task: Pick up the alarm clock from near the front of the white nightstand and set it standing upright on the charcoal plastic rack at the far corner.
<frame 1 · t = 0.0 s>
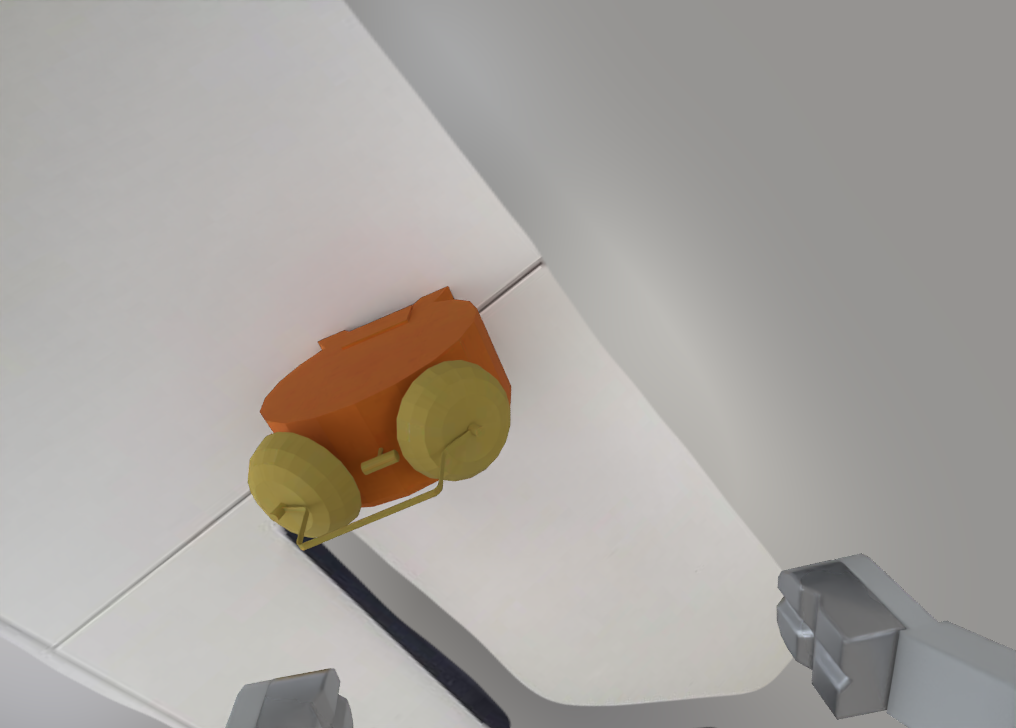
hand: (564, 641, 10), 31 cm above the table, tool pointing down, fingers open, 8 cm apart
alarm clock: (400, 347, 40), on the table
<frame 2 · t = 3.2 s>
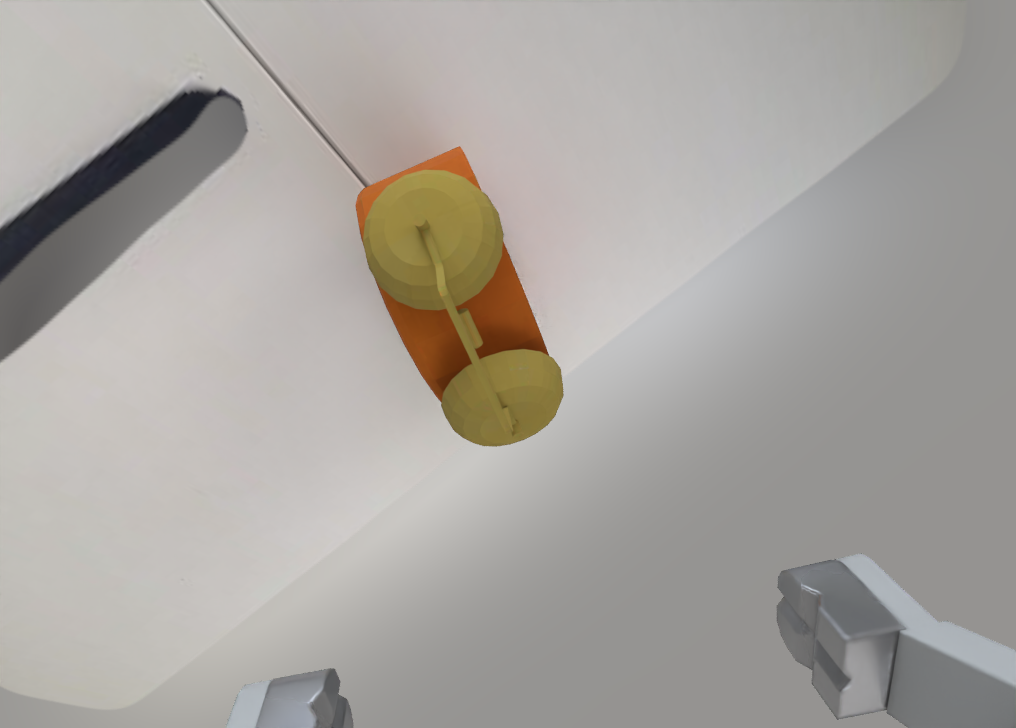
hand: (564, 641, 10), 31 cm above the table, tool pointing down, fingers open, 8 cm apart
alarm clock: (456, 258, 38), on the table
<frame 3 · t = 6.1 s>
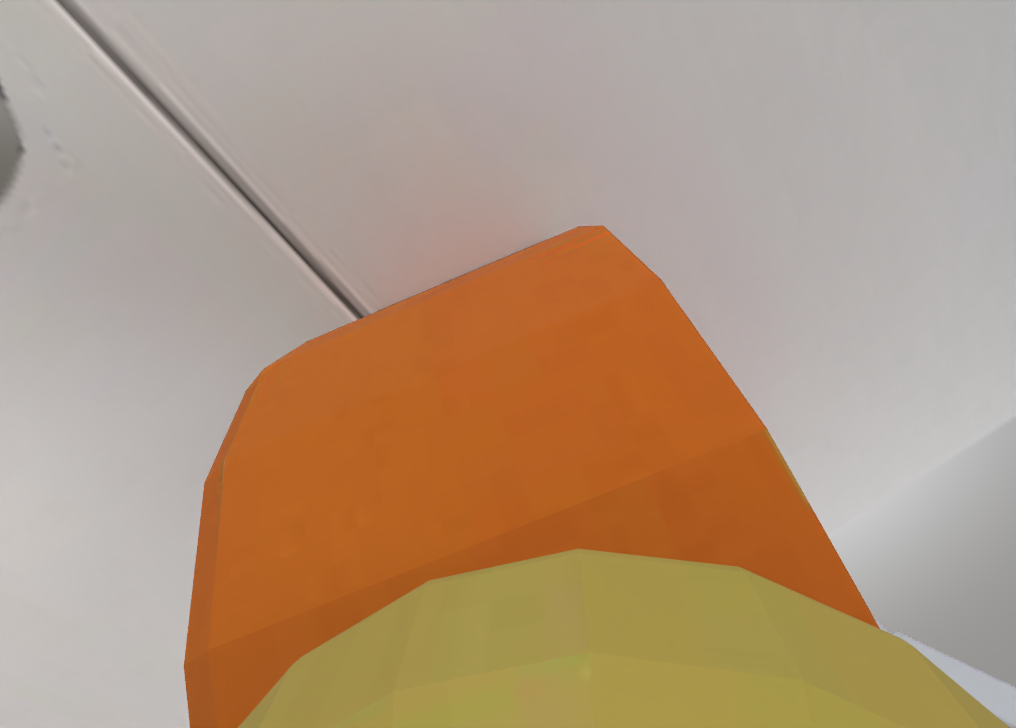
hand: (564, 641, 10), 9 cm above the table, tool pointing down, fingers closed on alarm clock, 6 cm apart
alarm clock: (518, 416, 18), on the table, touching arm, gripper
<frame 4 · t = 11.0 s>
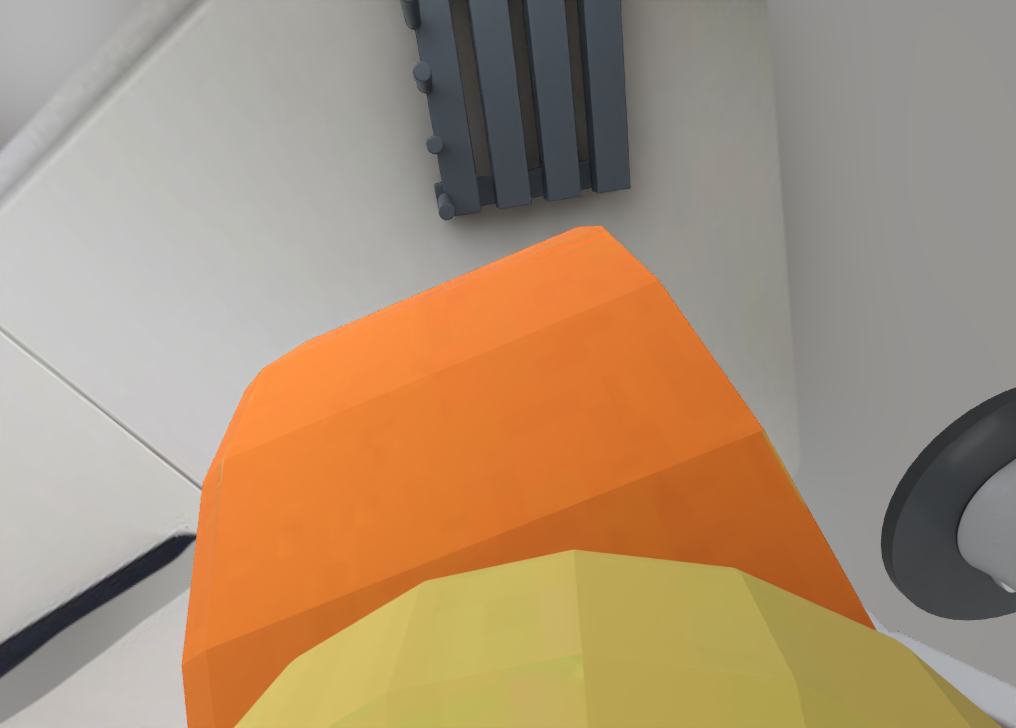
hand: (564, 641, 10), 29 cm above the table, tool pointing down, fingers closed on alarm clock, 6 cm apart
rack: (517, 76, 33), on the table
alarm clock: (517, 416, 18), point 20 cm above the table, touching arm, gripper
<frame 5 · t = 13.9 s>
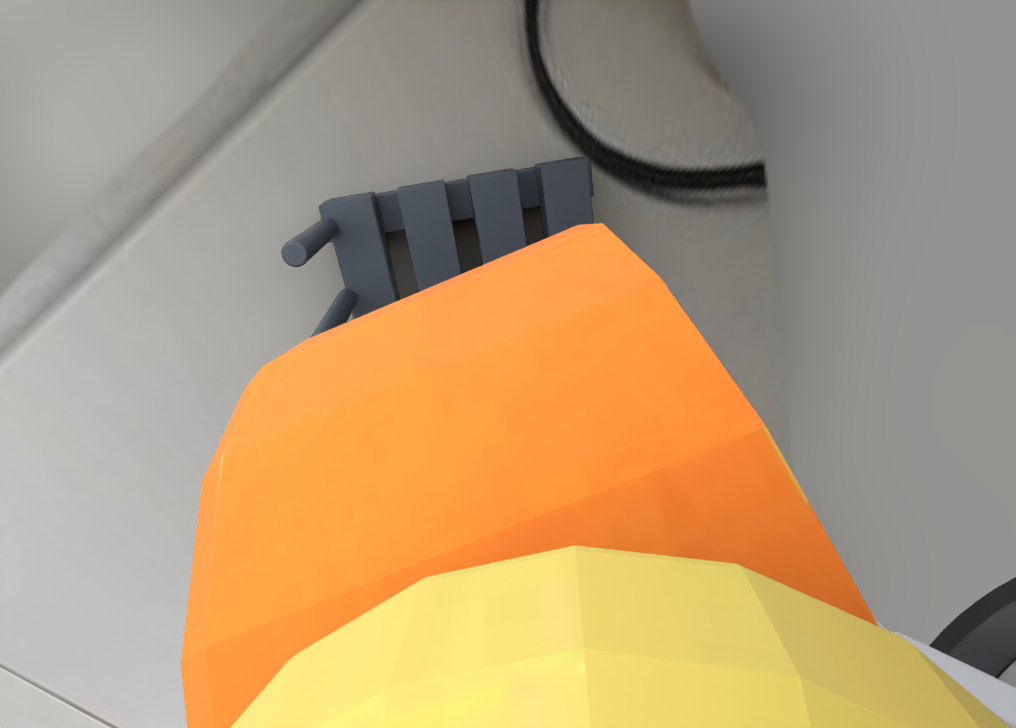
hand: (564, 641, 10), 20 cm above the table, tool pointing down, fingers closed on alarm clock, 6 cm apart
rack: (480, 319, 28), on the table
alarm clock: (517, 415, 18), point 11 cm above the table, touching arm, gripper
when the fingers open (12 cm above the table, at t = 16.3 s): alarm clock stays where it is, resting on rack.
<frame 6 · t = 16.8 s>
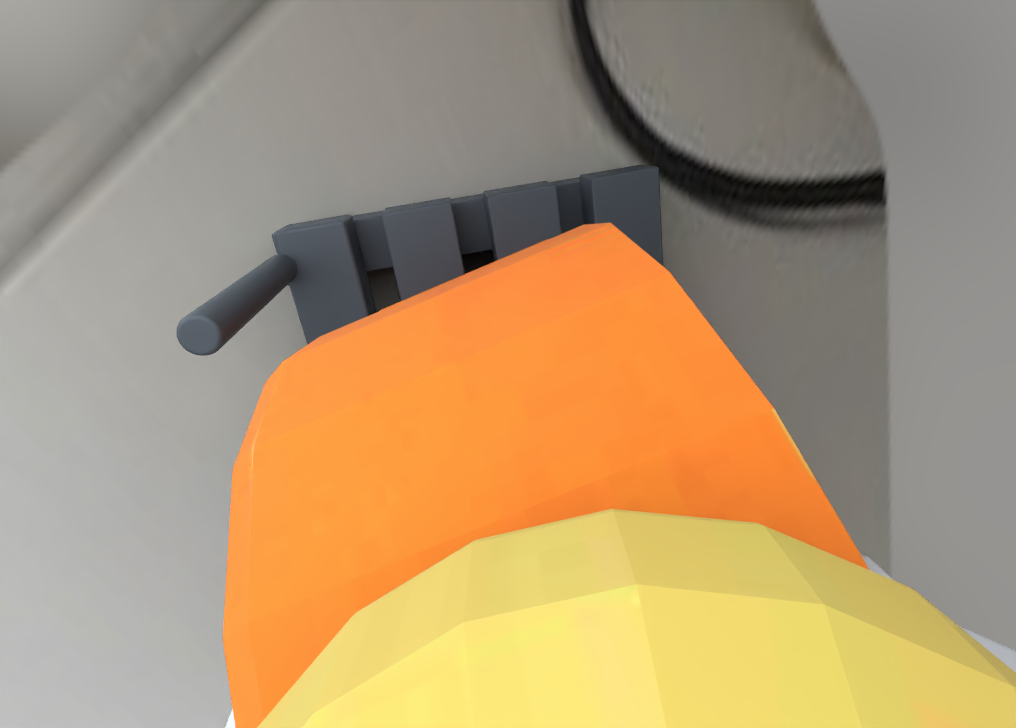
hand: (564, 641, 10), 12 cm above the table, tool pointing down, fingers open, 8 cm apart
rack: (497, 381, 21), on the table
alarm clock: (518, 413, 18), point 3 cm above the table, touching rack
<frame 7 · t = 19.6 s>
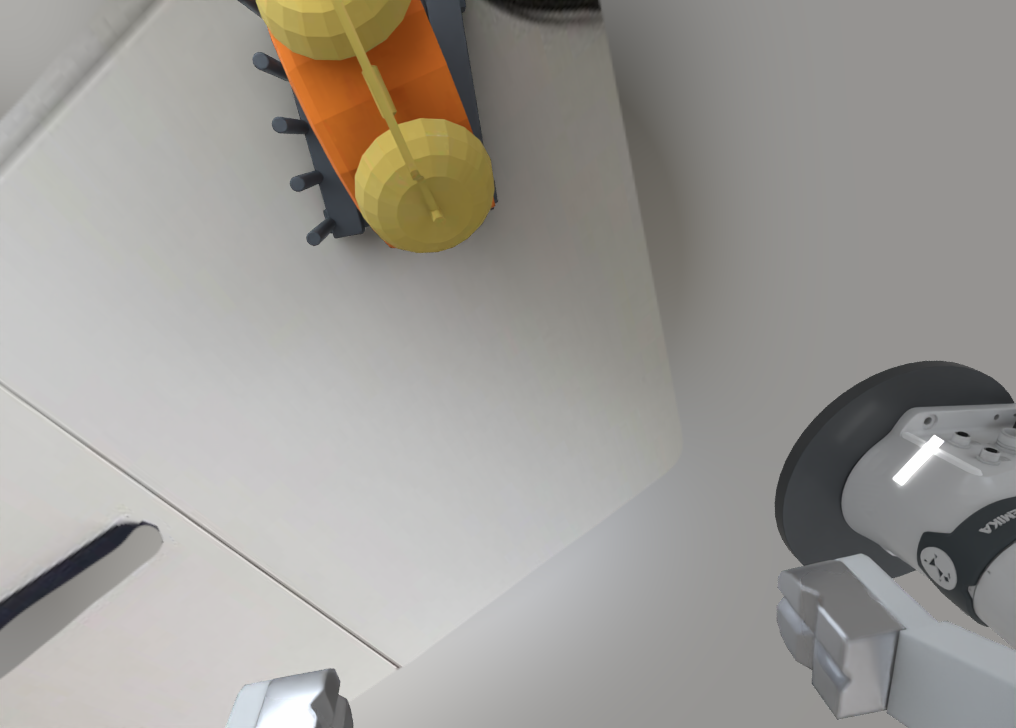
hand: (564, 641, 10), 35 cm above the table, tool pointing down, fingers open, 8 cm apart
rack: (392, 114, 38), on the table
alarm clock: (396, 111, 35), point 3 cm above the table, touching rack
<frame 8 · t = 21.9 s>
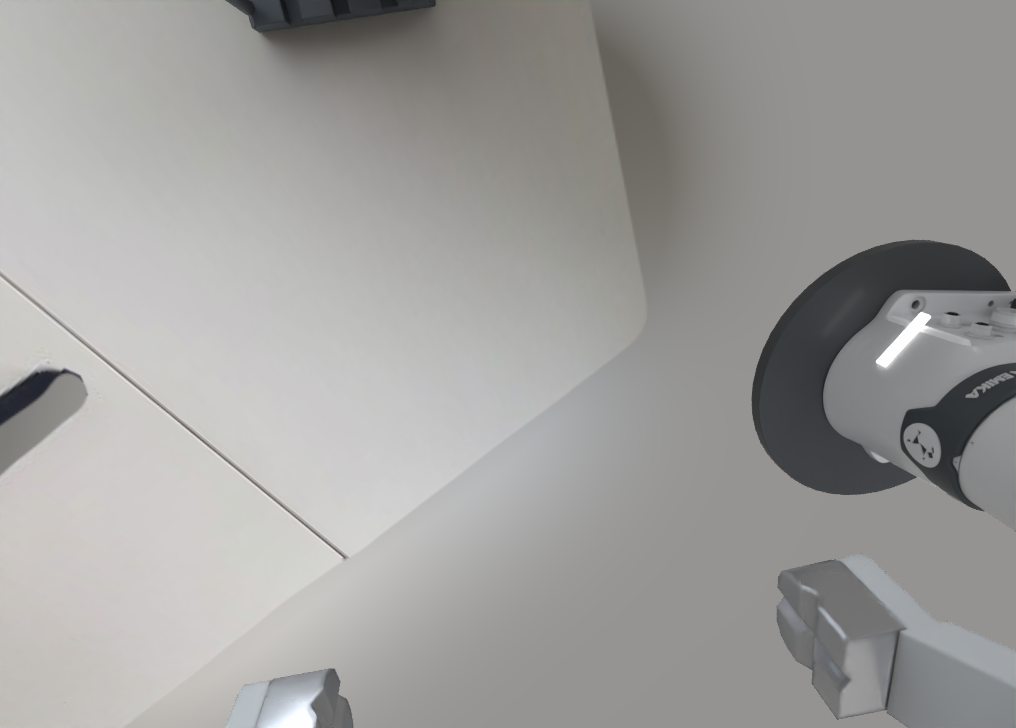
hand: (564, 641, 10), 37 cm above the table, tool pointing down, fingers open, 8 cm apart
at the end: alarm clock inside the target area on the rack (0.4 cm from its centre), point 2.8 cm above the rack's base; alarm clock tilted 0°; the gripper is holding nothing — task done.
